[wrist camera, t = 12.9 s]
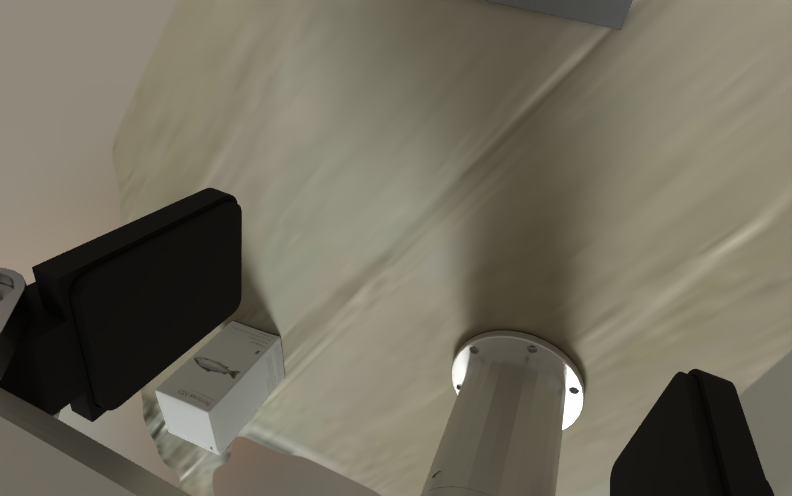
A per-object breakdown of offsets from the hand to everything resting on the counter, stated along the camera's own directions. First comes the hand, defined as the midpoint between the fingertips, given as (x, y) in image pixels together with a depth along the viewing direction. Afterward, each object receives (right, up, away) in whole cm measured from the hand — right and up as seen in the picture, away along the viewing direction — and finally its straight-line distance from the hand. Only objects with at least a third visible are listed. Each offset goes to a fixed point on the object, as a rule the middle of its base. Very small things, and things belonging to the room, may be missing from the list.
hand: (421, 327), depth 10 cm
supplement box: (-18, -11, +50) cm, 54 cm away
